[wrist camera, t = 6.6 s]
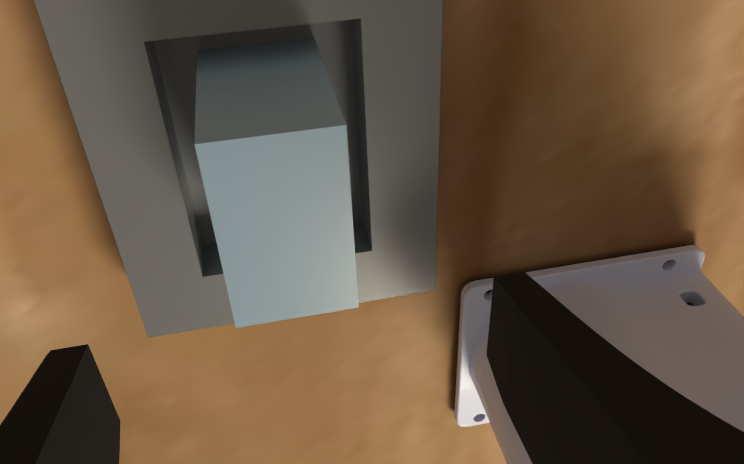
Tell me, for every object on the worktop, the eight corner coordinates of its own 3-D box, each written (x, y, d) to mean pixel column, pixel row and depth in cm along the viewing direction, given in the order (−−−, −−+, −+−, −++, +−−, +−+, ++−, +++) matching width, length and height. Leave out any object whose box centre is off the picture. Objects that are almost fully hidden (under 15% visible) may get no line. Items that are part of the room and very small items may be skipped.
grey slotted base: (421, -98, 16) (444, -81, 15) (419, 252, 23) (435, 289, 21) (38, -66, 15) (18, -43, 14) (152, 294, 22) (148, 337, 20)
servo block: (314, 37, 17) (346, 124, 13) (329, 197, 20) (358, 307, 16) (197, 50, 17) (194, 144, 13) (229, 211, 20) (235, 328, 16)
